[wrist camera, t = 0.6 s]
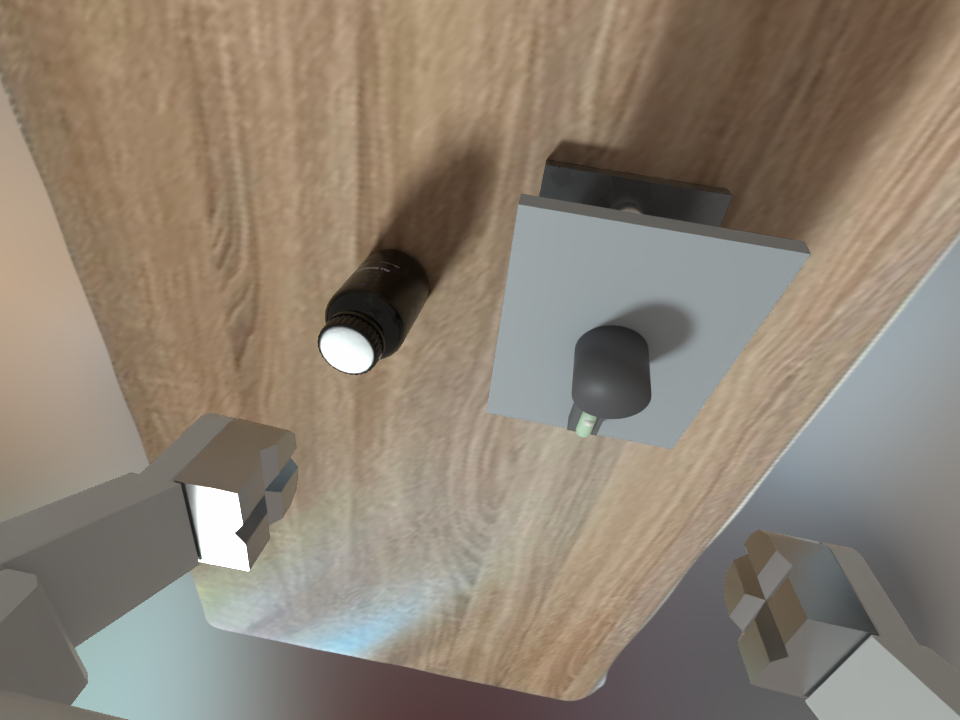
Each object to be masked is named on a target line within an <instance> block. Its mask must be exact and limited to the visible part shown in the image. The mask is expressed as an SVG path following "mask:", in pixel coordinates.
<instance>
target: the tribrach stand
mask: <svg viewBox="0 0 960 720" xmlns="http://www.w3.org/2000/svg"><path fill="white" fill-rule="evenodd" d="M539 197H544V198H550V199H556V200H562V201H568V202H573V203H579V204H585V205H591V206H597V207H603V208H609V209H615V210H621V211H627V212H632V213H638V214H644V215H650V216H656V217H662V218H668V219H674V220H680V221H686V222H691V223H697V224H703V225H709V226H715V227H720V225H721V222H722V220H723V218H724V215H725V213H726V210H727V208H728V206H729V203H730V201H731V199H732V194H731V193H730V192H729V191H728V190H727V189H721V188H715V187H709V186H703V185H697V184H691V183H685V182H679V181H673V180H666V179H660V178H654V177H648V176H642V175H636V174H630V173H624V172H618V171H612V170H606V169H600V168H594V167H587V166H581V165H575V164H569V163H563V162H557V161H551V160H546V164H545V169H544V175H543V180H542V185H541V190H540V196H539Z"/></svg>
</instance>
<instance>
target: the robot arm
mask: <svg viewBox="0 0 960 720" xmlns="http://www.w3.org/2000/svg"><path fill="white" fill-rule="evenodd" d="M296 448H297V446H296V437H295V433H293V432H292V431H290V430H285V429H281V428H277V427H273V426H269V425H264V424H260V423H256V422H252V421H248V420H243V419H239V418H238V419H236V418H232V417H228V416H224V415H220V414H216V413H212V412H211V413H208V414H205V415H203V416H201V417H200V418H199V419H198V420H197V421H196V422H195V423H194V424H193V425H192V426H191V427H189V428H188V429H187V430H186V431H185V432H184V433H183V434H182V435H181V436H180V437H179V438H178V439H177V440H176V441H175V442H174V443H172V444H171V445H170V446H169V447H168V448H167V449H166V450H165V451H164V452H163V453H162V454H161V455H160V456H159V457H158V458H156V459H155V460H154V461H153V462H152V463H151V464H150V465H149V466H148V467H147V468H146V469H145V470H144V471H143V472H142V473H140V474H135V473H128V474H126V475H123V476H121V477H118V478H116V479H113V480H110V481H108V482H105V483H103V484H100V485H97V486H95V487H92V488H89V489H87V490H84V491H82V492H79V493H77V494H74V495H71V496H69V497H66V498H64V499H61V500H58V501H56V502H53V503H51V504H48V505H46V506H43V507H41V508H38V509H35V510H33V511H30V512H28V513H25V514H22V515H20V516H17V517H14V518H12V519H9V520H7V521H4V522H2V523H0V720H128V719H124V718H119V717H115V716H111V715H107V714H103V713H99V712H95V711H91V710H86V709H82V708H78V707H74V706H71V704H72V703H73V702H74V700H75V699H76V698H77V697H78V695H79V694H80V693H81V691H82V690H83V689H84V687H85V686H86V685H87V683H88V675H87V671H86V669H85V667H84V665H83V663H82V661H81V659H80V657H79V656H78V654H77V652H76V650H75V647H76V646H78V645H79V644H81V643H82V642H84V641H85V640H87V639H88V638H90V637H91V636H93V635H94V634H96V633H97V632H99V631H100V630H102V629H103V628H105V627H106V626H108V625H109V624H111V623H112V622H114V621H115V620H117V619H118V618H120V617H121V616H123V615H124V614H126V613H127V612H129V611H130V610H132V609H133V608H135V607H136V606H138V605H139V604H141V603H142V602H144V601H145V600H147V599H148V598H150V597H151V596H153V595H154V594H156V593H157V592H159V591H160V590H162V589H163V588H165V587H166V586H168V585H169V584H171V583H172V582H174V581H175V580H177V579H178V578H180V577H181V576H183V575H184V574H186V573H187V572H189V571H190V570H192V569H193V568H195V567H196V566H198V565H199V564H200V563H199V561H200V562H206V563H211V564H216V565H221V566H226V567H231V568H236V569H241V570H246V571H250V569H251V568H252V566H253V564H254V563H255V561H256V560H257V558H258V557H259V555H260V553H261V552H262V550H263V549H264V547H265V546H266V544H267V542H268V541H269V539H270V533H269V525H271V524H273V523H275V522H276V521H278V520H280V519H282V518H283V517H284V515H285V514H286V512H287V510H288V509H289V507H290V505H291V503H292V500H293V497H294V495H295V492H296V489H297V483H298V466H297V465H296V464H295V462H294V461H293V460H292V459H291V456H292V454H293V453H294V451H295V450H296ZM745 547H746V550H747V553H748V554H747V555H745V556H742V557H740V558H738V559H736V560H734V561H733V562H732V564H731V566H730V567H729V569H728V571H727V573H726V577H725V584H724V595H725V603H726V607H727V610H728V613H729V616H730V618H731V619H732V620H733V621H734V622H735V623H736V624H737V625H738V626H739V628H741V630H742V631H743V632H742V634H741V636H740V639H739V641H738V645H739V648H740V651H741V654H742V657H743V661H744V664H745V667H746V670H747V673H748V676H749V679H750V682H751V685H755V686H759V687H762V688H766V689H770V690H774V691H778V692H782V693H786V694H790V695H794V696H798V697H802V698H806V699H807V700H806V701H805V702H806V703H807V704H808V706H809V707H810V708H811V710H812V711H813V712H814V713H815V715H816V716H817V717H818V719H819V720H960V673H958V672H957V671H956V670H955V669H954V668H953V667H951V666H950V665H949V664H948V663H947V662H945V661H944V660H943V659H942V658H941V657H940V656H938V655H937V654H936V653H935V652H934V651H932V650H931V649H930V648H928V647H924V646H920V645H918V644H917V642H916V641H915V639H914V637H913V636H912V634H911V633H910V631H909V630H908V628H907V627H906V625H905V623H904V622H903V620H902V619H901V617H900V615H899V614H898V612H897V611H896V609H895V608H894V606H893V604H892V603H891V602H890V600H889V598H888V597H887V595H886V593H885V592H884V590H883V589H882V587H881V586H880V584H879V583H878V581H877V579H876V578H875V576H874V575H873V573H872V572H871V570H870V568H869V567H868V565H867V564H866V562H865V561H864V559H863V557H862V556H861V555H860V554H859V553H857V552H856V551H855V550H854V549H852V548H849V547H843V546H839V545H833V544H828V543H823V542H816V541H812V540H808V539H802V538H798V537H793V536H788V535H783V534H778V533H773V532H768V531H763V530H757V531H756V532H754V533H752V534H751V535H750V536H749V538H748V539H747V541H746V542H745Z"/></svg>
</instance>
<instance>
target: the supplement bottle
mask: <svg viewBox="0 0 960 720" xmlns="http://www.w3.org/2000/svg"><path fill="white" fill-rule="evenodd" d="M428 294H429V282H428V278H427V275H426V273H425V271H424V269H423V268H422V266H421V265H420V264H419V263H418V262H417V261H416V260H415V259H414V258H413V257H411V256H410V255H408V254H406V253H404V252H401V251H397V250H390V249H388V250H381V251H378V252H375V253H373V254H372V255H370V256H369V257H368V258H367V259H366V260H365V261H364V262H363V263H362V264H361V265H360V266H359V267H358V269H357V270H356V271H355V272H354V273H353V274H352V275H351V276H350V278H349V279H348V280H347V281H346V282H345V283H344V284H343V285H342V286H341V288H340V289H339V290H338V291H337V292H336V293H335V294H334V295H333V297H332V298H331V299H330V301H329V303H328V305H327V307H326V311H325V322H326V325H325V326H324V328H323V329H322V330H321V332H320V335H319V336H318V347H319V351H320V353H321V354H322V357H323V358H324V359H325V361H326V362H328V363H329V365H331V366H333V367H334V368H335V369H337V370H339V371H340V372H344V373H346V374H347V373H348V374H351V375H352V374H354V375H358V374H363V373H367V372H368V371H370V370H371V369H372V368H373V367H374V366H375V365H376V363H377V362H378V361H379V360H380V359H384V358H387V357H389V356H391V355H392V354H394V353H395V352H396V351H397V350H398V349H399V348H400V346H401V345H402V343H403V342H404V340H405V338H406V336H407V335H408V333H409V331H410V329H411V327H412V326H413V324H414V322H415V320H416V319H417V317H418V315H419V313H420V311H421V310H422V308H423V306H424V304H425V302H426V300H427V297H428Z"/></svg>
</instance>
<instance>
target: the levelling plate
mask: <svg viewBox="0 0 960 720" xmlns="http://www.w3.org/2000/svg"><path fill="white" fill-rule="evenodd" d="M810 255H811V254H810V251H809V249H808V247H807V245H806V243H805V242H804V241H798V240H792V239H786V238H780V237H774V236H768V235H762V234H756V233H750V232H745V231H739V230H733V229H727V228H721V227H715V226H709V225H703V224H697V223H691V222H686V221H680V220H674V219H668V218H662V217H656V216H650V215H644V214H638V213H632V212H627V211H621V210H615V209H609V208H603V207H597V206H591V205H585V204H579V203H573V202H568V201H562V200H556V199H550V198H544V197H538V196H532V195H526V194H521V196H520V200H519V204H518V210H517V216H516V223H515V229H514V236H513V242H512V249H511V255H510V262H509V268H508V275H507V281H506V288H505V294H504V301H503V307H502V314H501V320H500V327H499V333H498V340H497V346H496V353H495V359H494V366H493V373H492V379H491V386H490V392H489V399H488V405H487V413H492V414H497V415H502V416H507V417H512V418H517V419H522V420H527V421H532V422H537V423H542V424H547V425H552V426H557V427H562V428H567V430H572V431H576V433H577V434H578V435H579V436H580V437H584V438H585V437H588V436H589V435H590V434H592V435H597V434H598V435H603V436H608V437H613V438H618V439H623V440H628V441H633V442H638V443H643V444H648V445H653V446H658V447H663V448H668V449H673V448H674V446H675V445H676V443H677V442H678V441H679V439H680V438H681V436H682V435H683V434H684V432H685V431H686V429H687V428H688V427H689V425H690V424H691V422H692V421H693V419H694V418H695V417H696V415H697V414H698V412H699V411H700V410H701V408H702V407H703V405H704V404H705V403H706V401H707V400H708V398H709V397H710V396H711V394H712V393H713V391H714V390H715V389H716V387H717V386H718V384H719V383H720V381H721V380H722V379H723V377H724V376H725V374H726V373H727V372H728V370H729V369H730V367H731V366H732V365H733V363H734V362H735V360H736V359H737V358H738V356H739V355H740V353H741V352H742V350H743V349H744V348H745V346H746V345H747V343H748V342H749V341H750V339H751V338H752V336H753V335H754V334H755V332H756V331H757V329H758V328H759V327H760V325H761V324H762V322H763V321H764V320H765V318H766V317H767V315H768V314H769V312H770V311H771V310H772V308H773V307H774V305H775V304H776V303H777V301H778V300H779V298H780V297H781V296H782V294H783V293H784V291H785V290H786V289H787V287H788V286H789V284H790V283H791V282H792V280H793V279H794V277H795V276H796V274H797V273H798V272H799V270H800V269H801V267H802V266H803V265H804V263H805V262H806V260H807V259H808V258H809V256H810Z"/></svg>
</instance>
